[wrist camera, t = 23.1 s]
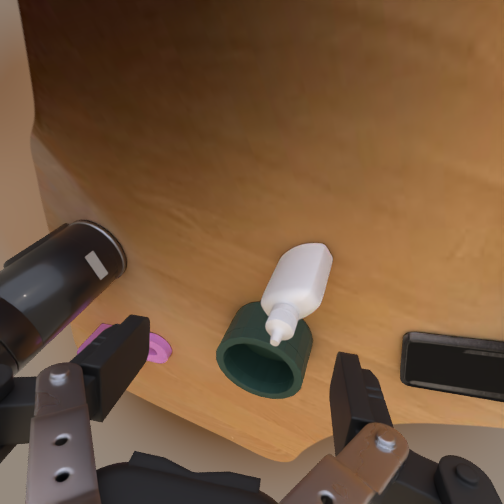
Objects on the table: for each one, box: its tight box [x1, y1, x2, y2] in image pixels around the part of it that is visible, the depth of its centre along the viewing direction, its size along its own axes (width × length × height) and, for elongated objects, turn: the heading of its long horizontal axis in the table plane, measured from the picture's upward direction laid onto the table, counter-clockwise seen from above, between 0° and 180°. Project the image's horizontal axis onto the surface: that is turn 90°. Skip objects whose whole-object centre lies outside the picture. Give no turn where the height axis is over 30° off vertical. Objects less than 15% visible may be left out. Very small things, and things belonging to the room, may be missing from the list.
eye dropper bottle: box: [261, 243, 333, 346], centre depth 31 cm, size 4×6×12 cm
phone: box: [400, 332, 504, 402], centre depth 35 cm, size 8×1×15 cm
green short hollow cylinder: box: [216, 302, 313, 399], centre depth 42 cm, size 11×11×6 cm
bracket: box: [77, 323, 172, 363], centre depth 54 cm, size 13×6×7 cm, turn 98°
